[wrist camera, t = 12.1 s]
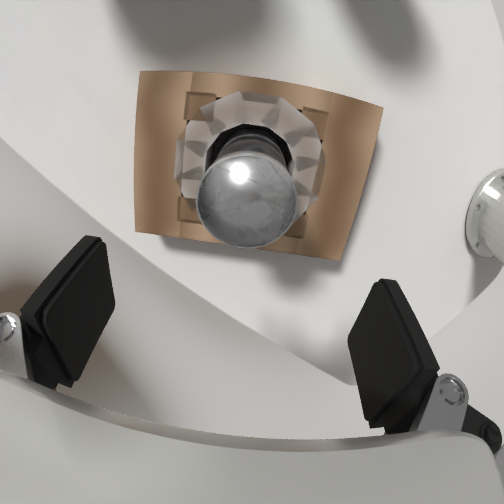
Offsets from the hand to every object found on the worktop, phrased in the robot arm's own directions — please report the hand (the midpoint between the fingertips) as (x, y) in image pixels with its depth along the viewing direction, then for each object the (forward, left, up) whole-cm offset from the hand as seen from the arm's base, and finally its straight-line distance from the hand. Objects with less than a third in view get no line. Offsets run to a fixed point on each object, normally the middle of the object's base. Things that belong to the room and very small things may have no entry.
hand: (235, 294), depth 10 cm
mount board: (0, 0, -20) cm, 20 cm away
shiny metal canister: (0, 0, -20) cm, 20 cm away
